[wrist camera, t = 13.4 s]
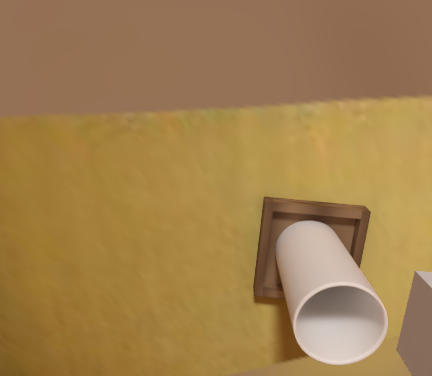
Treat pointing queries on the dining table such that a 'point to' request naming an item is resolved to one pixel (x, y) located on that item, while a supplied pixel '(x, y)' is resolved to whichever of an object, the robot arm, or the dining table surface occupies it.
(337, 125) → the dining table surface
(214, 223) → the dining table surface
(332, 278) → the cup
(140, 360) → the dining table surface
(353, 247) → the square wooden tray
